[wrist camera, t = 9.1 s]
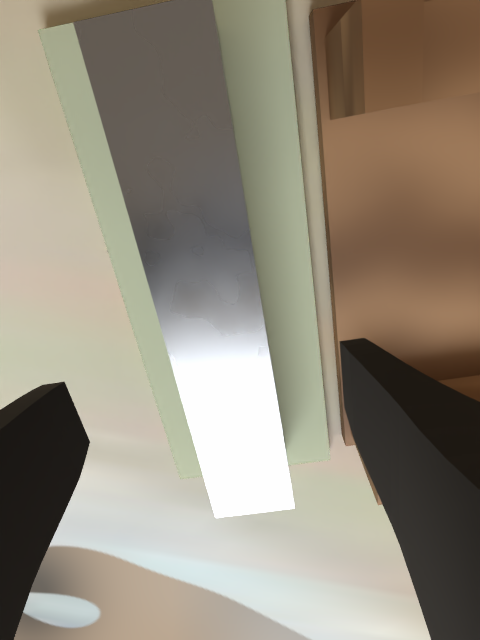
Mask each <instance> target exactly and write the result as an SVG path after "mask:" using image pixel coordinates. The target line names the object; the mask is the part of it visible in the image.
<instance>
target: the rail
mask: <svg viewBox="0 0 480 640" xmlns="http://www.w3.org/2000/svg"><path fill="white" fill-rule="evenodd" d="M73 24H74V28H75V31H76V35H77V38H78V42H79V45H80V49H81V52H82V56H83V59H84V63H85V66H86V70H87V73H88V76H89V80H90V83H91V87H92V90H93V94H94V97H95V101H96V104H97V108H98V111H99V115H100V118H101V122H102V125H103V129H104V132H105V136H106V139H107V143H108V146H109V150H110V153H111V157H112V160H113V163H114V167H115V170H116V174H117V177H118V181H119V184H120V188H121V191H122V195H123V198H124V202H125V205H126V209H127V212H128V216H129V219H130V223H131V226H132V230H133V233H134V237H135V240H136V243H137V247H138V250H139V254H140V257H141V261H142V264H143V268H144V271H145V275H146V278H147V282H148V285H149V289H150V292H151V296H152V299H153V303H154V306H155V310H156V313H157V317H158V320H159V323H160V327H161V330H162V334H163V337H164V341H165V344H166V348H167V351H168V355H169V358H170V362H171V365H172V369H173V372H174V376H175V379H176V383H177V386H178V390H179V393H180V397H181V400H182V404H183V407H184V410H185V414H186V417H187V421H188V424H189V428H190V431H191V435H192V438H193V442H194V445H195V449H196V452H197V456H198V459H199V463H200V466H201V470H202V473H203V477H204V480H205V484H206V487H207V490H208V494H209V497H210V501H211V504H212V508H213V511H214V515H215V518H221V517H229V516H237V515H245V514H253V513H261V512H269V511H278V510H286V509H294V508H295V505H294V499H293V492H292V485H291V479H290V472H289V465H288V459H287V452H286V446H285V439H284V433H283V427H282V421H281V415H280V409H279V402H278V396H277V390H276V384H275V378H274V372H273V365H272V359H271V353H270V347H269V341H268V335H267V328H266V322H265V316H264V310H263V304H262V298H261V291H260V285H259V279H258V273H257V267H256V261H255V254H254V248H253V242H252V236H251V230H250V224H249V217H248V211H247V205H246V199H245V193H244V187H243V180H242V174H241V168H240V162H239V156H238V150H237V143H236V137H235V131H234V125H233V119H232V113H231V106H230V100H229V94H228V88H227V82H226V76H225V69H224V63H223V57H222V51H221V45H220V39H219V32H218V27H217V22H216V17H215V12H214V6H213V1H212V0H172V1H167V2H163V3H158V4H154V5H149V6H145V7H140V8H136V9H131V10H126V11H122V12H117V13H113V14H108V15H104V16H99V17H95V18H90V19H85V20H81V21H76V22H73Z"/></svg>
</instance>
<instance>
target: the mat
mask: <svg viewBox="0 0 480 640" xmlns="http://www.w3.org/2000/svg"><path fill="white" fill-rule="evenodd" d="M212 1H213V6H214V12H215V17H216V22H217V27H218V32H219V39H220V45H221V51H222V57H223V63H224V69H225V76H226V82H227V88H228V94H229V100H230V106H231V113H232V119H233V125H234V131H235V137H236V143H237V150H238V156H239V162H240V168H241V174H242V180H243V187H244V193H245V199H246V205H247V211H248V217H249V224H250V230H251V236H252V242H253V248H254V254H255V261H256V267H257V273H258V279H259V285H260V291H261V298H262V304H263V310H264V316H265V322H266V328H267V335H268V341H269V347H270V353H271V359H272V365H273V372H274V378H275V384H276V390H277V396H278V402H279V409H280V415H281V421H282V427H283V433H284V439H285V446H286V452H287V459H288V465H296V464H304V463H312V462H320V461H328V460H330V450H329V440H328V430H327V420H326V409H325V399H324V389H323V379H322V369H321V358H320V348H319V338H318V328H317V317H316V307H315V297H314V287H313V277H312V266H311V256H310V246H309V236H308V225H307V215H306V205H305V195H304V185H303V174H302V164H301V154H300V144H299V133H298V123H297V113H296V103H295V93H294V82H293V72H292V62H291V52H290V41H289V31H288V21H287V11H286V1H285V0H212ZM38 33H39V36H40V39H41V42H42V45H43V48H44V51H45V55H46V58H47V61H48V64H49V67H50V70H51V74H52V77H53V80H54V83H55V86H56V89H57V92H58V96H59V99H60V102H61V105H62V108H63V111H64V114H65V118H66V121H67V124H68V127H69V130H70V133H71V137H72V140H73V143H74V146H75V149H76V152H77V155H78V159H79V162H80V165H81V168H82V171H83V174H84V177H85V181H86V184H87V187H88V190H89V193H90V196H91V200H92V203H93V206H94V209H95V212H96V215H97V218H98V222H99V225H100V228H101V231H102V234H103V237H104V240H105V244H106V247H107V250H108V253H109V256H110V259H111V263H112V266H113V269H114V272H115V275H116V278H117V281H118V285H119V288H120V291H121V294H122V297H123V300H124V303H125V307H126V310H127V313H128V316H129V319H130V322H131V326H132V329H133V332H134V335H135V338H136V341H137V344H138V348H139V351H140V354H141V357H142V360H143V363H144V366H145V370H146V373H147V376H148V379H149V382H150V385H151V389H152V392H153V395H154V398H155V401H156V404H157V407H158V411H159V414H160V417H161V420H162V423H163V426H164V429H165V433H166V436H167V439H168V442H169V445H170V448H171V452H172V455H173V458H174V461H175V464H176V467H177V470H178V474H179V477H180V479H187V478H195V477H203V473H202V470H201V466H200V463H199V459H198V456H197V452H196V449H195V445H194V442H193V438H192V435H191V431H190V428H189V424H188V421H187V417H186V414H185V410H184V407H183V404H182V400H181V397H180V393H179V390H178V386H177V383H176V379H175V376H174V372H173V369H172V365H171V362H170V358H169V355H168V351H167V348H166V344H165V341H164V337H163V334H162V330H161V327H160V323H159V320H158V317H157V313H156V310H155V306H154V303H153V299H152V296H151V292H150V289H149V285H148V282H147V278H146V275H145V271H144V268H143V264H142V261H141V257H140V254H139V250H138V247H137V243H136V240H135V237H134V233H133V230H132V226H131V223H130V219H129V216H128V212H127V209H126V205H125V202H124V198H123V195H122V191H121V188H120V184H119V181H118V177H117V174H116V170H115V167H114V163H113V160H112V157H111V153H110V150H109V146H108V143H107V139H106V136H105V132H104V129H103V125H102V122H101V118H100V115H99V111H98V108H97V104H96V101H95V97H94V94H93V90H92V87H91V83H90V80H89V76H88V73H87V70H86V66H85V63H84V59H83V56H82V52H81V49H80V45H79V42H78V38H77V35H76V31H75V28H74V24H73V23H68V24H64V25H59V26H54V27H50V28H45V29H40V30H38Z"/></svg>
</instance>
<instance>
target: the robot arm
mask: <svg viewBox="0 0 480 640" xmlns="http://www.w3.org/2000/svg"><path fill="white" fill-rule="evenodd" d="M339 342H340V355H341V369H342V382H343V396H344V408H345V411H346V415H347V418H348V422H349V425H350V428H351V431H352V435H353V438H354V441H355V444H356V446H357V448H358V451H359V453H360V455H361V457H362V460H363V462H364V464H365V466H366V469H367V471H368V473H369V475H370V478H371V480H372V482H373V484H374V486H375V489H376V491H377V493H378V495H379V498H380V500H381V502H382V504H383V506H384V509H385V511H386V513H387V515H388V518H389V520H390V522H391V524H392V527H393V529H394V532H395V534H396V537H397V539H398V542H399V544H400V547H401V550H402V553H403V556H404V559H405V562H406V565H407V568H408V571H409V573H410V576H411V579H412V582H413V585H414V588H415V591H416V594H417V597H418V600H419V603H420V606H421V609H422V612H423V615H424V619H425V622H426V625H427V628H428V631H429V634H430V637H431V640H480V402H479V401H477V400H475V399H473V398H470V397H468V396H466V395H464V394H462V393H460V392H458V391H456V390H454V389H452V388H450V387H448V386H446V385H444V384H442V383H440V382H438V381H436V380H435V379H433V378H431V377H429V376H427V375H425V374H424V373H422V372H420V371H418V370H417V369H415V368H413V367H412V366H410V365H408V364H406V363H405V362H403V361H402V360H400V359H398V358H397V357H395V356H393V355H392V354H390V353H389V352H387V351H385V350H384V349H382V348H381V347H379V346H377V345H376V344H374V343H373V342H371V341H369V340H368V339H366V338H358V339H352V340H345V341H339ZM89 443H90V441H89V439H88V436H87V434H86V432H85V429H84V427H83V425H82V422H81V420H80V417H79V415H78V413H77V410H76V408H75V406H74V403H73V401H72V398H71V396H70V394H69V391H68V389H67V387H66V384H65V382H60V383H53V384H46V385H42V386H40V387H38V388H36V389H34V390H32V391H30V392H28V393H27V394H25V395H23V396H21V397H20V398H18V399H17V400H15V401H13V402H12V403H10V404H9V405H7V406H6V407H4V408H3V409H1V410H0V640H14V637H15V634H16V631H17V627H18V625H19V622H20V619H21V616H22V613H23V610H24V607H25V604H26V602H27V599H28V596H29V593H30V590H31V587H32V584H33V582H34V579H35V577H36V575H37V572H38V570H39V567H40V565H41V562H42V560H43V558H44V556H45V553H46V551H47V549H48V547H49V545H50V543H51V541H52V538H53V536H54V534H55V532H56V530H57V527H58V525H59V523H60V521H61V519H62V516H63V514H64V512H65V510H66V508H67V505H68V503H69V501H70V499H71V496H72V494H73V492H74V490H75V487H76V485H77V483H78V480H79V478H80V475H81V472H82V468H83V465H84V462H85V458H86V455H87V451H88V447H89Z"/></svg>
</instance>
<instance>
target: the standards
mask: <svg viewBox="0 0 480 640" xmlns="http://www.w3.org/2000/svg"><path fill="white" fill-rule="evenodd" d="M309 23H310V36H311V48H312V61H313V74H314V86H315V99H316V112H317V124H318V137H319V150H320V162H321V175H322V188H323V200H324V213H325V226H326V239H327V251H328V264H329V277H330V289H331V302H332V315H333V327H334V340H335V353H336V365H337V378H338V391H339V403H340V416H341V429H342V437H343V440H344V443H345V445H346V446H351V445H356V444H355V441H354V438H353V435H352V431H351V428H350V425H349V422H348V418H347V415H346V411H345V408H344V396H343V382H342V369H341V355H340V342H339V341H345V340H352V339H358V338H366V339H368V340H369V341H371V342H373V343H374V344H376V345H377V346H379V347H381V348H382V349H384V350H385V351H387V352H389V353H390V354H392V355H393V356H395V357H397V358H398V359H400V360H402V361H403V362H405V363H406V364H408V365H410V366H412V367H413V368H415V369H417V370H418V371H420V372H422V373H424V374H425V375H427V376H429V377H431V378H433V379H435V380H436V381H438V382H440V383H442V384H444V385H446V386H448V387H450V388H452V389H454V390H456V391H458V392H460V393H462V394H464V395H466V396H468V397H470V398H473V399H475V400H477V401H479V402H480V0H356V1H351V2H346V3H342V4H337V5H332V6H327V7H322V8H318V9H313V10H312V12H311V14H310V16H309ZM356 448H357V446H356ZM357 450H358V448H357ZM358 453H359V451H358ZM359 456H360V458H361V461H362V464H363V466H364V469H365V472H366V474H367V477H368V480H369V482H370V485H371V488H372V490H373V493H374V495H375V498H376V501H377V503H378V505H382V502H381V500H380V498H379V495H378V493H377V491H376V489H375V486H374V484H373V482H372V480H371V478H370V475H369V473H368V471H367V469H366V466H365V464H364V462H363V460H362V457H361V455H360V453H359Z"/></svg>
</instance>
